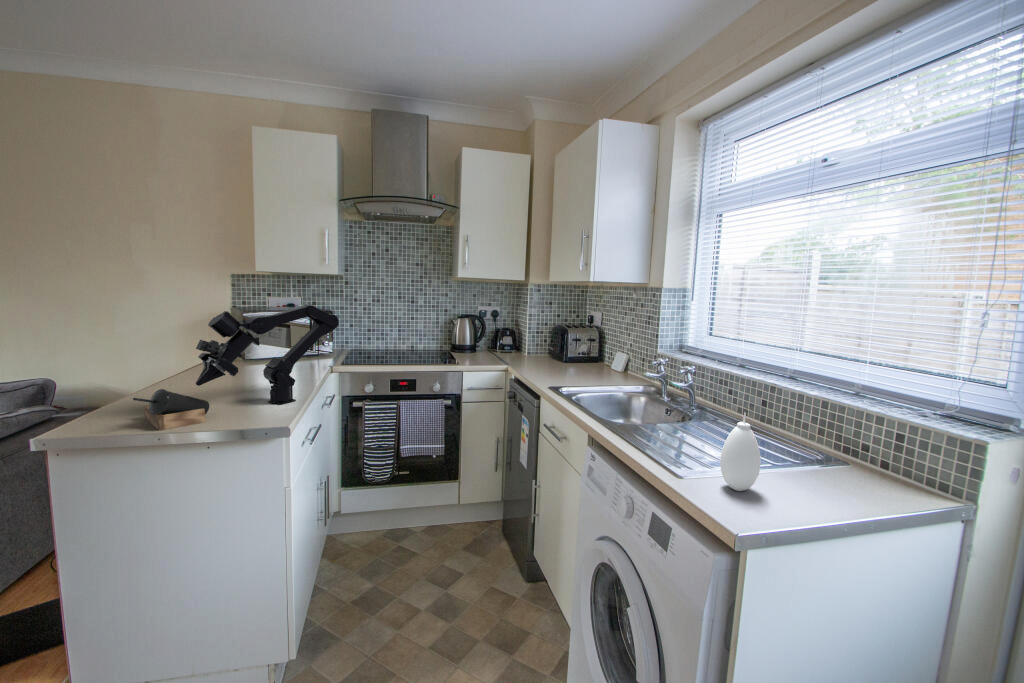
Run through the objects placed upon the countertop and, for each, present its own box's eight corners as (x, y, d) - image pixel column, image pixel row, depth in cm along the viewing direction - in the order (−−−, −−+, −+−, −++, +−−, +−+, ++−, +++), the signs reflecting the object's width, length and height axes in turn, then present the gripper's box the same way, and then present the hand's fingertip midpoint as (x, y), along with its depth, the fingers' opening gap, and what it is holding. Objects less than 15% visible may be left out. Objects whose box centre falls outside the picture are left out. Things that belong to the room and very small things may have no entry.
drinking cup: (215, 397, 141) (147, 386, 123) (208, 422, 139) (137, 414, 121) (199, 394, 143) (130, 383, 125) (191, 418, 142) (120, 410, 124)
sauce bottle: (711, 481, 105) (718, 406, 102) (744, 481, 105) (751, 407, 103) (729, 497, 97) (737, 416, 95) (764, 497, 97) (773, 417, 95)
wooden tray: (188, 411, 145) (188, 399, 144) (205, 422, 135) (204, 409, 135) (145, 419, 136) (144, 406, 136) (159, 430, 126) (158, 416, 126)
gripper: (204, 327, 147) (164, 364, 140) (225, 333, 135) (183, 373, 128) (231, 349, 154) (195, 385, 147) (254, 356, 142) (216, 395, 135)
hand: (196, 384), depth 139 cm, fingers closed
